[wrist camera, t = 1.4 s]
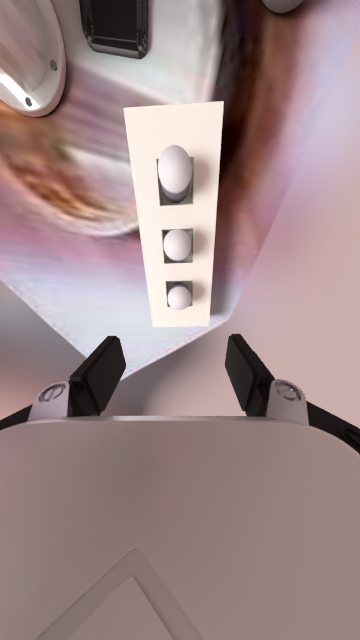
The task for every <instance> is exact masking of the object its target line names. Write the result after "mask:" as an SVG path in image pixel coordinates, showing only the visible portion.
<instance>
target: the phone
mask: <svg viewBox="0 0 360 640" xmlns="http://www.w3.org/2000/svg"><path fill="white" fill-rule="evenodd" d="M79 2H80V12H81V21H82V28H83V32H84V35H85V37H86V39H87V42H88V44H89V46H90V47H91V48H92V49H93V50H94V51H96V52H100V53H106V54H111V55H117V56H123V57H129V58H134V59H142V58H143V57H144V56H145V55H146V52H147V46H148V0H79Z"/></svg>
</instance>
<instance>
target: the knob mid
mask: <svg viewBox="0 0 360 640" xmlns="http://www.w3.org/2000/svg"><path fill="white" fill-rule="evenodd" d="M163 245H164V251H165V253H166V255H167V256H168V257H169V258H171V259H172V260H176V261H179V260H182V259H184V258H186V257H187V256H188V254H189V252H190V250H191V240H190V237H189V236H188V234H187V233H186V232H185V231H183V230H181V229H174V230H171V231H170V232H169V233H168V234H167V235H166V237H165V239H164V244H163Z"/></svg>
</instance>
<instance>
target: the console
mask: <svg viewBox="0 0 360 640" xmlns="http://www.w3.org/2000/svg"><path fill="white" fill-rule="evenodd" d="M223 104H224V101H220V102H205V103H190V104H175V105H160V106H145V107H130V108H124V116H125V123H126V131H127V138H128V146H129V153H130V161H131V168H132V176H133V183H134V191H135V198H136V206H137V213H138V221H139V228H140V236H141V243H142V251H143V258H144V266H145V273H146V281H147V288H148V296H149V303H150V311H151V318H152V326H153V327H186V326H209V318H210V303H211V288H212V272H213V257H214V242H215V227H216V211H217V196H218V181H219V165H220V150H221V135H222V120H223ZM171 145H178V146H180V147H182V148H183V149H184V150H185V151H186V152H187V154H188V155H189V158H190V161H191V178H190V187H189V192H188V195H187V197H186V198H185V199H184V200H183V201H182V202H180V203H172V202H170V201H169V200H168V199H167V198H166V196H165V194H164V192H163V188H162V185H161V181H160V178H159V174H158V161H159V158H160V155H161V153H162V152H163V151H164V149H166V148H167V147H168V146H171ZM174 229H181V230H183V231H185V232H186V233H187V234H188V236H189V237H190V240H191V250H190V252H189V254H188V256H187V257H186V258H184V259H182V260H179V261H176V260H172V259H171V258H169V257H168V256H167V255H166V253H165V251H164V245H163V244H164V239H165V237H166V235H167V234H168V233H169V232H170V231H171V230H174ZM176 283H184V284H185V285H187V286H188V288H189V290H190V295H191V302H190V305H189V306H188V307H187V308H186V309H184V310H175V309H173V308H172V307H171V306H170V305H169V303H168V300H167V298H168V294H169V291H170V289H171V287H172V286H173V285H174V284H176Z"/></svg>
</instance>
